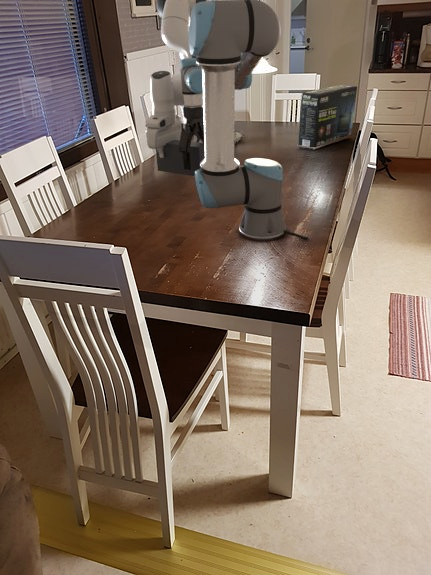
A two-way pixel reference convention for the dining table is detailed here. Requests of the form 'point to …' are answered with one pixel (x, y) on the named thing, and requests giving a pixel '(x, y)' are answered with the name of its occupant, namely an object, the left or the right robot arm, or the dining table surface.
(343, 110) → the router box
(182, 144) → the right robot arm
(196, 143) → the box
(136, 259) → the dining table surface
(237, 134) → the fossil
